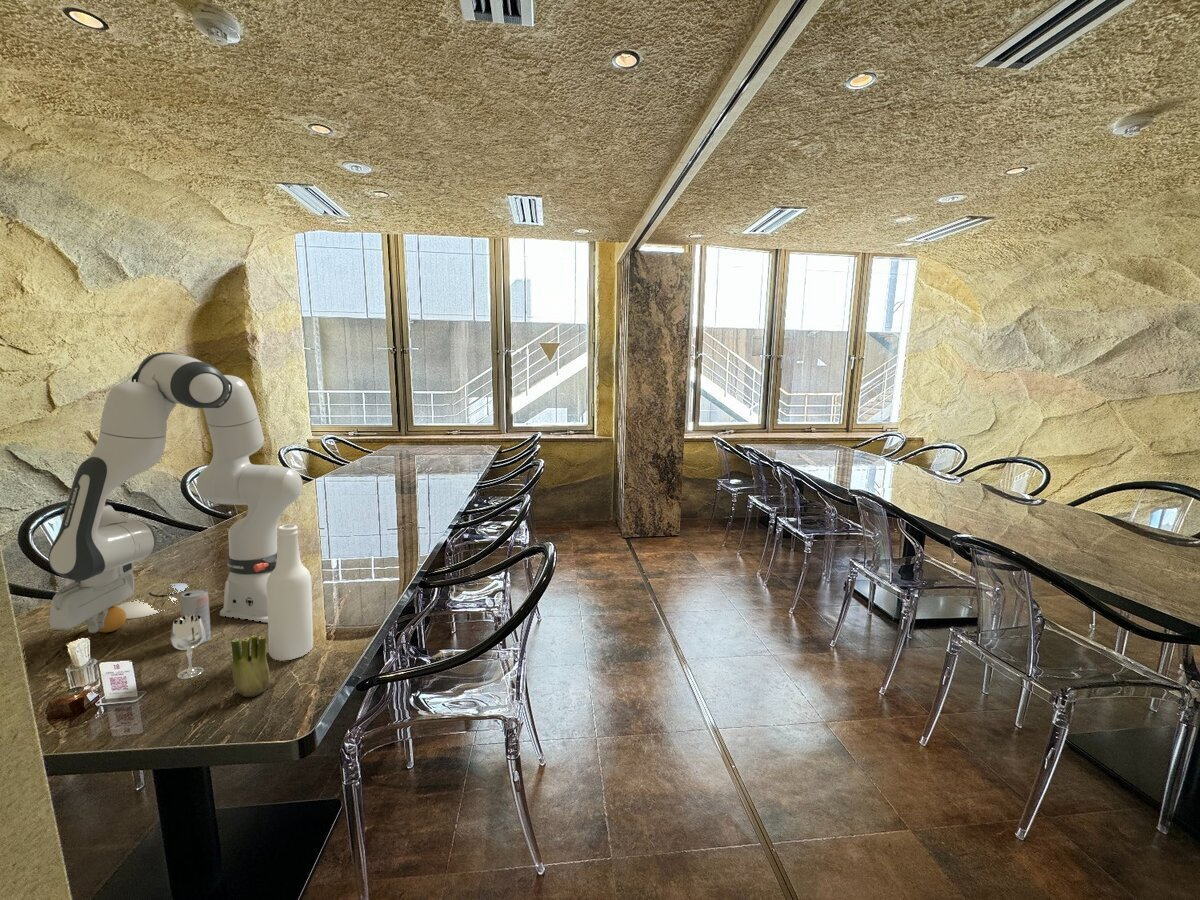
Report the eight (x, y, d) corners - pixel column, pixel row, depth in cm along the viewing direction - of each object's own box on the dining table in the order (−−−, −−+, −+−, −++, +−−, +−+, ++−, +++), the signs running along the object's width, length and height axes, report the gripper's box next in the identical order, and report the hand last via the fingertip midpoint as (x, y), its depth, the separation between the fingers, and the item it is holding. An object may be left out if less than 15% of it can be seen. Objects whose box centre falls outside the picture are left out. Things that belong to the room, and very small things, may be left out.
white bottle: (264, 651, 122) (259, 525, 118) (306, 639, 128) (303, 519, 124) (275, 667, 116) (269, 534, 112) (318, 653, 122) (315, 527, 118)
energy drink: (187, 637, 127) (184, 589, 125) (214, 634, 129) (211, 587, 127) (178, 648, 122) (175, 598, 120) (206, 644, 124) (203, 596, 122)
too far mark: (196, 587, 155) (196, 586, 155) (162, 598, 147) (162, 597, 147) (177, 581, 159) (177, 581, 159) (142, 592, 150) (142, 591, 150)
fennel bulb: (230, 697, 105) (227, 640, 103) (250, 683, 109) (247, 629, 108) (256, 701, 104) (253, 644, 102) (275, 687, 109) (272, 632, 107)
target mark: (189, 602, 145) (189, 602, 145) (128, 623, 132) (128, 622, 132) (158, 593, 150) (158, 592, 150) (96, 612, 137) (96, 611, 137)
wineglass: (213, 666, 115) (210, 613, 114) (194, 681, 110) (191, 626, 108) (186, 665, 115) (183, 613, 113) (166, 680, 109) (162, 625, 108)
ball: (130, 630, 129) (132, 605, 130) (99, 636, 124) (101, 610, 124) (117, 628, 132) (119, 603, 132) (86, 633, 126) (88, 608, 127)
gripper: (70, 590, 113) (75, 652, 114) (138, 559, 133) (141, 612, 134) (36, 591, 112) (41, 653, 113) (110, 559, 132) (113, 612, 133)
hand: (96, 630), depth 124 cm, fingers closed
